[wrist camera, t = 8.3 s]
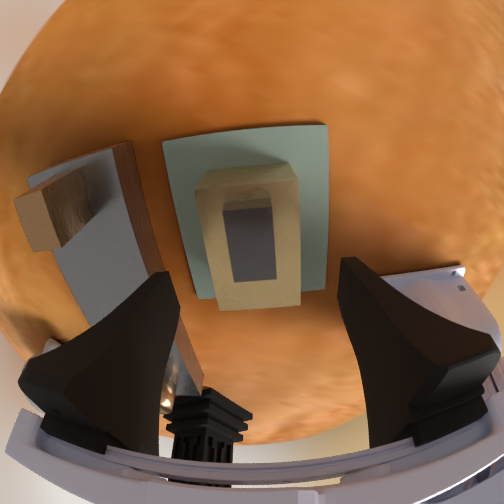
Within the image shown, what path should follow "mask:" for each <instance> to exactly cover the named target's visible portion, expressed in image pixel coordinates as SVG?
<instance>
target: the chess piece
mask: <svg viewBox="0 0 504 504" xmlns="http://www.w3.org/2000/svg"><path fill="white" fill-rule="evenodd" d="M163 418H165V419H167V420H169V421H171V422H172V423H171V424H167V426H166V430H167V431H169V432H171V433H173V434H175V437H174V443H173V450H172V457H171V458H173V459H180V460H189V461H199V462H213V463H232V460H233V443H234V442H240V441H243V435H241V434H239V433H238V432H241V431H246V430H248V424H246V423H244V422H243V421H248V420H252V419H253V414H252V413H250V412H248V411H247V410H245V409H243V408H242V407H240V406H238V405H237V404H235V403H234V402H232V401H231V400H229V399H227V398H226V397H224V396H223V395H221V394H220V393H218V392H217V391H215V390H214V389H212V388H209V389H206V390H202V393H201V396H184V395H183V396H179V397H175V399H174V404H173V409H172V412H171V413H169V414H164V416H163ZM168 481H169V482H175V483H182V484H189V485H198V486H208V487H222V488H231V485H229V484H212V483H200V482H191V481H183V480H176V479H170V478H168Z"/></svg>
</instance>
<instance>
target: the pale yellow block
mask: <svg viewBox="0 0 504 504" xmlns="http://www.w3.org/2000/svg"><path fill="white" fill-rule="evenodd" d="M194 194H195V199H196V204H197V209H198V215H199V220H200V225H201V230H202V234H203V239H204V244H205V249H206V253H207V258H208V263H209V267H210V272H211V276H212V281H213V285H214V289H215V294H216V298H217V302H218V306H219V310H220V311H232V310H248V309H262V308H275V307H287V306H298V305H300V303H301V242H300V200H299V180H298V178H297V176H296V174H295V173H294V171H293V169H292V167H291V165H290V163H289V162H287V163H273V164H260V165H249V166H239V167H230V168H222V169H213V170H206V172H205V174H204V175H203V177H202V178H201V180H200V182H199V183H198V185H197V186H196V188H195V190H194Z"/></svg>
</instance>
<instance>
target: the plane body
mask: <svg viewBox="0 0 504 504" xmlns="http://www.w3.org/2000/svg"><path fill="white" fill-rule="evenodd" d="M27 181H28V184H29V188H30V190H28V191H27V192H25V193H23V194H22V195H20V196H19V197H17V198H16V199H14V200H13V201H14V204H15V207H16V210H17V213H18V216H19V219H20V222H21V224H22V227H23V229H24V232H25V235H26V237H27V240H28V242H29V244H30V247H31V249H32V251H33V252H40V251H47V250H52V252H53V254H54V256H55V258H56V261H57V263H58V265H59V267H60V269H61V272H62V274H63V276H64V278H65V280H66V282H67V284H68V286H69V288H70V290H71V292H72V294H73V295H74V297H75V299H76V301H77V303H78V305H79V307H80V308H81V310H82V312H83V314H84V315H85V317H86V319H87V321H88V322H89V324H90V326H91V327H92V326H94V325H95V324H96V323H98V322H99V321H100V320H102V319H103V318H104V317H106V316H107V315H108V314H109V313H110V312H112V311H113V310H114V309H115V308H116V307H117V306H118V305H120V304H121V303H122V302H123V301H124V300H125V299H126V298H127V297H129V296H130V295H131V294H132V293H133V292H134V291H135V290H136V289H137V288H138V287H139V286H140V285H141V284H142V283H144V282H145V281H146V280H147V279H148V278H149V277H150V276H151V275H153V274H154V273H155V272H164V271H165V270H164V267H163V264H162V260H161V257H160V254H159V251H158V247H157V244H156V240H155V237H154V234H153V230H152V226H151V223H150V219H149V215H148V212H147V208H146V204H145V200H144V196H143V192H142V188H141V184H140V179H139V175H138V170H137V166H136V161H135V157H134V152H133V147H132V142H131V140H130V141H126V142H122V143H118V144H115V145H111V146H108V147H104V148H101V149H98V150H94V151H91V152H88V153H85V154H82V155H79V156H76V157H73V158H70V159H67V160H65V161H62V162H59V163H56V164H54V165H51V166H49V167H47V168H45V169H43V170H41V171H39V172H37V173H35V174H33V175H31V176H30V177H28V178H27ZM203 379H204V374H203V372H202V370H201V367H200V365H199V363H198V360H197V358H196V355H195V353H194V350H193V348H192V345H191V343H190V340H189V338H188V335H187V333H186V330H185V327H184V325H183V322H182V319H181V317H180V314H179V321H178V327H177V331H176V334H175V338H174V341H173V345H172V348H171V351H170V355H169V358H168V362H167V366H166V369H165V374H164V379H163V386H162V393H161V402H160V413H159V414H169V413H171V412H172V409H173V404H174V399H175V395H184V396H201V393H202V386H203Z"/></svg>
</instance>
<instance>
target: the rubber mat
mask: <svg viewBox="0 0 504 504" xmlns="http://www.w3.org/2000/svg"><path fill="white" fill-rule="evenodd" d="M162 147H163V152H164V158H165V163H166V168H167V173H168V178H169V183H170V188H171V192H172V197H173V202H174V206H175V211H176V215H177V219H178V224H179V228H180V232H181V236H182V240H183V244H184V248H185V252H186V256H187V260H188V264H189V268H190V271H191V275H192V279H193V282H194V286H195V290H196V293H197V297H198V299H212V298H216V294H215V289H214V285H213V281H212V276H211V272H210V267H209V263H208V258H207V253H206V249H205V244H204V239H203V234H202V230H201V225H200V220H199V215H198V209H197V204H196V199H195V194H194V190H195V188H196V186H197V185H198V183H199V182H200V180H201V178H202V177H203V175H204V174H205V172H206V170H213V169H222V168H230V167H239V166H249V165H260V164H273V163H287V162H289V163H290V165H291V167H292V169H293V171H294V173H295V174H296V176H297V178H298V180H299V200H300V242H301V292H305V291H315V290H325V284H326V269H327V251H328V226H329V143H328V125H291V126H274V127H261V128H250V129H240V130H231V131H223V132H216V133H209V134H202V135H196V136H190V137H184V138H178V139H173V140H168V141H163V142H162Z"/></svg>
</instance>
